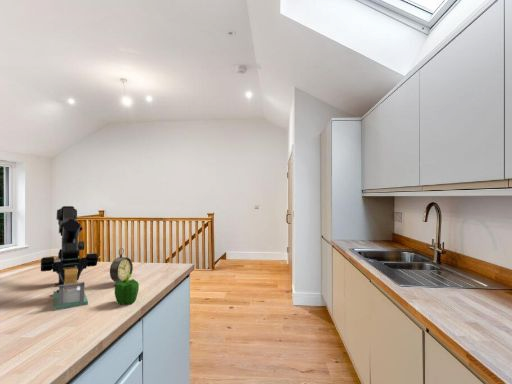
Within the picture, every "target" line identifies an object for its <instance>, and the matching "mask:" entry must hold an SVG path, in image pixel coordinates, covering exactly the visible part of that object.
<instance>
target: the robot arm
mask: <svg viewBox="0 0 512 384" xmlns="http://www.w3.org/2000/svg"><path fill="white" fill-rule="evenodd" d="M56 220H57V224H58V234H60V236H61V248H60V249H59V251H58V254H57V255H58V257H56V258H55V256H44V257H42V258H41V259H40V272H51V271H52V272H53V273H56V274H57V275H58V282H55V283H54V285H56V286H59V285H64V282H65V276H64V270H65V268H69V267H77V268H78V269H77V283H79V279H80V276H81V274H82V273H83V271H84V270H85V269H87V267H96V266H97V265H98V261H99V254H98V253H96V252H94V253H92V252H91V253H86V255H85V256H86V257H80V254H81V253H80V251H84V250H85V241H84V240H80V241H79V236H80V233H81V232H82V231H83V226H81V224H80V222H79V220H78V210H77V209H76V208H75V206H73V205H63V206H61V208H58V209H57V210H56Z"/></svg>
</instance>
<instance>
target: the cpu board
mask: <svg viewBox="0 0 512 384" xmlns="http://www.w3.org/2000/svg"><path fill="white" fill-rule="evenodd" d="M85 284H86V283H85V281H81V282H78V283H73V284H65V285H58V289H56V290H54V291H53V307H54V308H53V309H54V311H58V310H59V311H60V310H64V309H71V308H77V307H82V306H88V305H89V300H88V298H87V296H86V293H85ZM70 287H77V291H73V292H67V290H66V289H64V288H70Z"/></svg>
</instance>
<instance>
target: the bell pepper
mask: <svg viewBox="0 0 512 384" xmlns="http://www.w3.org/2000/svg"><path fill="white" fill-rule="evenodd" d="M129 277H130V278H131V277H132V274H129V275H128V276H127V278H126V279H125V280H123V281H121V282H115V284H114V296H115V300H116V303H117V305H131V304H134V303H135V302H136V300H137V297H138V295H139V290H140V289H139V288H140V287H139V285H140V284H139V282H138V281H137V280H135V279H134V278H131V279H130V278H129Z"/></svg>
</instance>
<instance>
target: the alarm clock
mask: <svg viewBox="0 0 512 384" xmlns="http://www.w3.org/2000/svg"><path fill="white" fill-rule="evenodd" d="M121 250H122V253H120V252H121ZM118 254H119V257H116V258H115V259H114V260H113V261H112V263H111V264H110V268H109V277H110V279H111V280H112V281H113V282H115V283H116V282H121V281H123V280H125V279H126V278H127V276H128V275H129V274H131V275H132V274H133V267H134V266H133V261H132V259H131V258H129V257H128V256H125V257H123V255H124V248H123V247H121V248H120V249H119V250H118ZM130 278H131V277H129V279H130Z"/></svg>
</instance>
